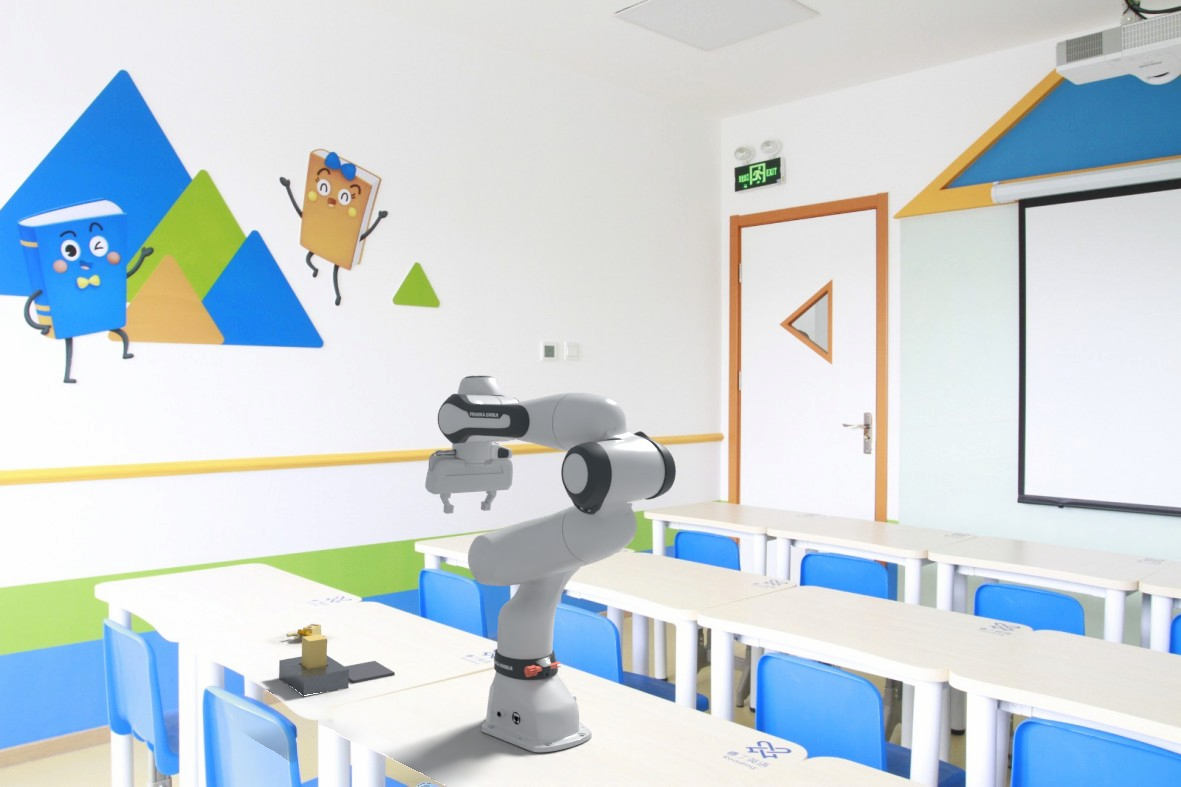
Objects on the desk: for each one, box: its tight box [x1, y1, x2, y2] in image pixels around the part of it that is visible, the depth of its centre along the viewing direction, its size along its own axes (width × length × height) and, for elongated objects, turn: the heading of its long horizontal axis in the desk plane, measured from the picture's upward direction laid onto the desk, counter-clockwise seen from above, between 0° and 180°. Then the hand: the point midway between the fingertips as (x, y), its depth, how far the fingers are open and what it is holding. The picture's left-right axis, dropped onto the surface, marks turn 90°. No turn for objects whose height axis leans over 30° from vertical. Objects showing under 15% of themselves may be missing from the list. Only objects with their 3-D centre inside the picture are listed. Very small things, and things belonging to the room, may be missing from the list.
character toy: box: [286, 623, 322, 640], centre depth 229 cm, size 8×3×8 cm
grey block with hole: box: [278, 655, 350, 697], centre depth 197 cm, size 14×10×4 cm
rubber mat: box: [343, 660, 395, 684], centre depth 205 cm, size 10×10×1 cm
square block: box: [301, 634, 328, 670], centre depth 197 cm, size 4×4×10 cm
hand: (467, 511), depth 197 cm, fingers open, 8 cm apart
